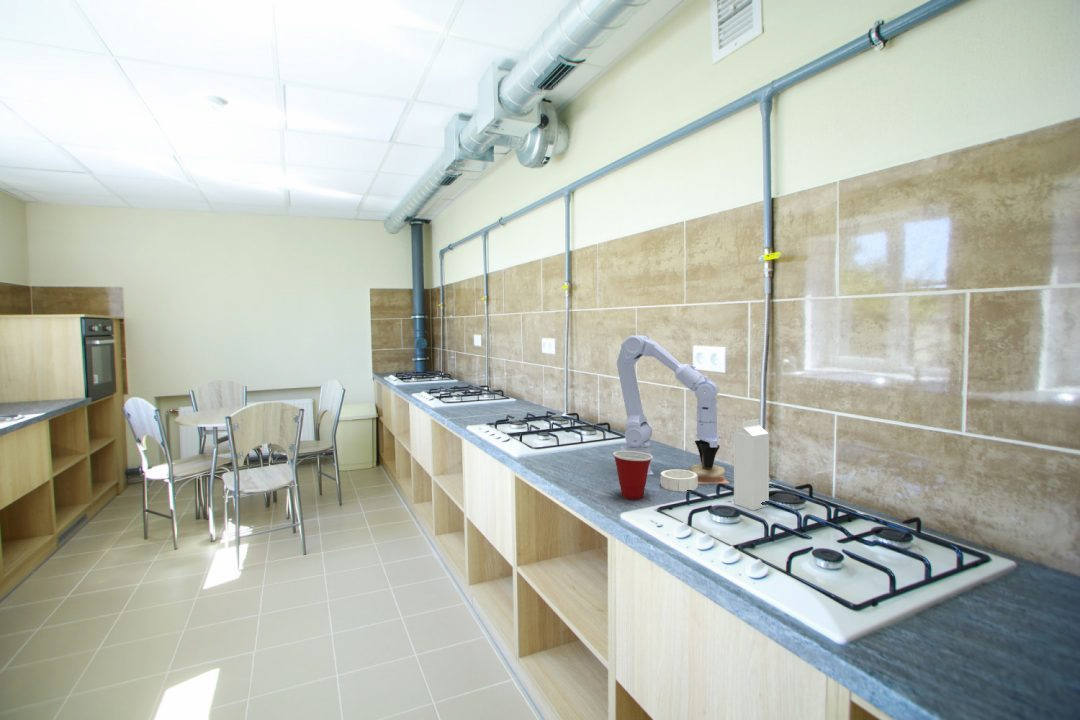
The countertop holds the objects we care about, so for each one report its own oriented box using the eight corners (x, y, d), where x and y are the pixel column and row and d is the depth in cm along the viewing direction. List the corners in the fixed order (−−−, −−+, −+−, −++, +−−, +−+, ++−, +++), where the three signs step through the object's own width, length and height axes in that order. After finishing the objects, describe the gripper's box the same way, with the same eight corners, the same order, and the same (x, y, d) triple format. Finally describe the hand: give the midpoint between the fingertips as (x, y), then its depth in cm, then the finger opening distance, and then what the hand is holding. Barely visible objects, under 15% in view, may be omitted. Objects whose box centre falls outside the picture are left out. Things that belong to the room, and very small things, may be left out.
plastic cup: (660, 500, 137) (660, 456, 136) (623, 504, 134) (623, 459, 133) (642, 488, 147) (641, 447, 146) (607, 492, 144) (606, 450, 144)
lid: (694, 477, 148) (694, 459, 148) (686, 468, 158) (686, 451, 158) (729, 477, 148) (729, 459, 148) (718, 467, 158) (718, 451, 158)
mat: (694, 485, 149) (694, 483, 149) (686, 475, 159) (686, 473, 158) (729, 485, 148) (729, 483, 148) (719, 475, 158) (719, 473, 158)
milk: (733, 504, 132) (732, 420, 131) (749, 499, 135) (748, 417, 134) (753, 511, 127) (752, 423, 126) (769, 506, 130) (768, 420, 129)
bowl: (665, 493, 142) (664, 479, 142) (658, 482, 152) (658, 469, 152) (701, 493, 142) (701, 478, 141) (692, 482, 152) (692, 469, 151)
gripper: (728, 425, 145) (728, 472, 146) (713, 416, 159) (713, 459, 160) (703, 425, 145) (703, 472, 146) (690, 417, 160) (690, 459, 160)
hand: (706, 465), depth 153 cm, fingers closed on lid, 3 cm apart
